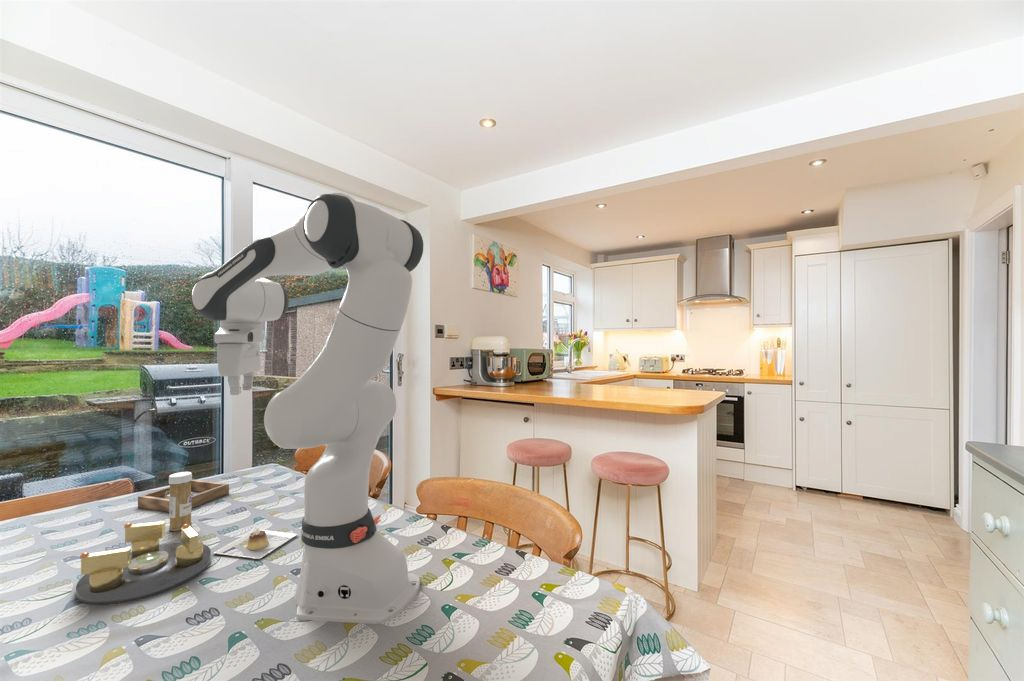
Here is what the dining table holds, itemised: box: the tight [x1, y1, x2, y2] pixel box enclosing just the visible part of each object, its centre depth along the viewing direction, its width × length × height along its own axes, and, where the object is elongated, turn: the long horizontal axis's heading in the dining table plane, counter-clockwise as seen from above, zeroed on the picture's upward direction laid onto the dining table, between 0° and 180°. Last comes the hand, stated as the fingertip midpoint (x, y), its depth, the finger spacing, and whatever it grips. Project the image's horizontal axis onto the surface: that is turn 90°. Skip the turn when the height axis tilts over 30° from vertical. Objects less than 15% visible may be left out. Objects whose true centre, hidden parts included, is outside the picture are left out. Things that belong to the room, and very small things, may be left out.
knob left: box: [79, 546, 132, 593], centre depth 77 cm, size 7×4×7 cm, turn 115°
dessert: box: [212, 527, 299, 560], centre depth 96 cm, size 12×12×5 cm
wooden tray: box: [137, 479, 230, 513], centre depth 123 cm, size 15×15×3 cm
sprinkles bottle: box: [168, 471, 193, 532], centre depth 105 cm, size 5×5×14 cm
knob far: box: [124, 520, 166, 558], centre depth 88 cm, size 7×4×7 cm, turn 106°
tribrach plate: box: [75, 541, 212, 606], centre depth 84 cm, size 20×20×4 cm
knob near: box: [176, 524, 204, 567], centre depth 85 cm, size 7×4×7 cm, turn 50°
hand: (241, 392), depth 102 cm, fingers open, 8 cm apart
